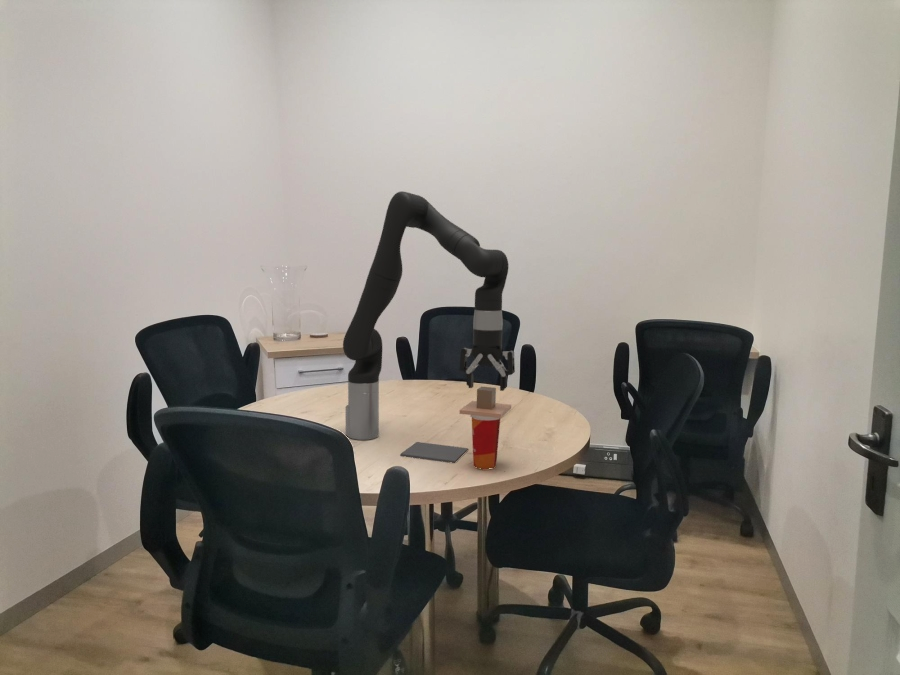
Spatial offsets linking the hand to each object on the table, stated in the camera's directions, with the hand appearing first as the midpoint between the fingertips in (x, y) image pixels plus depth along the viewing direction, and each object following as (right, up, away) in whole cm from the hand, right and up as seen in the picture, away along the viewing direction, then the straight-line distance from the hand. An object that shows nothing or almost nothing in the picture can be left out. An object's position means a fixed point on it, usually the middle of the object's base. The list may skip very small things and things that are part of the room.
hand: (486, 388), depth 161 cm
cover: (0, -6, +1) cm, 6 cm away
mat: (-14, -19, +13) cm, 27 cm away
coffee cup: (0, -21, +3) cm, 21 cm away
